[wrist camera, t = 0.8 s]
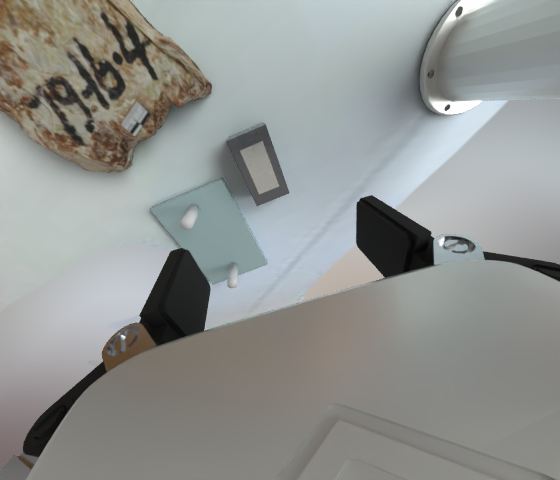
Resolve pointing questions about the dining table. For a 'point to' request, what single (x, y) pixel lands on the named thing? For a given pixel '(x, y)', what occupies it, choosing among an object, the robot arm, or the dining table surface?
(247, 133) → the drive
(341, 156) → the dining table surface
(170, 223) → the grey-green peg board
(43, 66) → the stone
